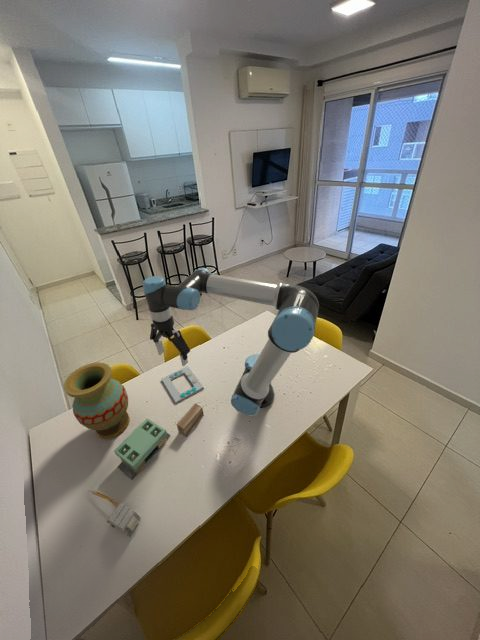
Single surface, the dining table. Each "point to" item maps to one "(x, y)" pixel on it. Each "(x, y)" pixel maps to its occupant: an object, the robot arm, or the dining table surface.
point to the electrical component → (122, 517)
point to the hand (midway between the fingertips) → (173, 358)
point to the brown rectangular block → (190, 419)
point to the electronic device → (179, 397)
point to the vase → (98, 400)
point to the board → (140, 443)
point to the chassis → (128, 469)
